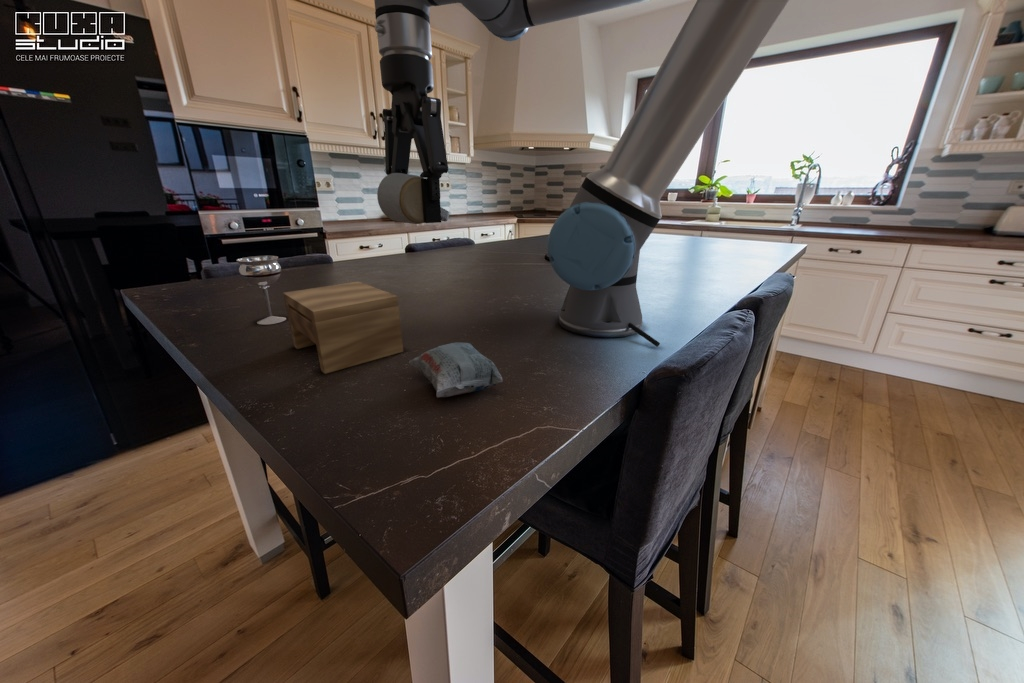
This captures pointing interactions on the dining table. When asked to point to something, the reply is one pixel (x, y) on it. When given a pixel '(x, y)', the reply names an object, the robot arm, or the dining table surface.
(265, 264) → the wineglass
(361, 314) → the oak stool
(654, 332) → the dining table surface
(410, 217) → the ceramic mug
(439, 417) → the dining table surface
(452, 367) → the packaged food
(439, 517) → the dining table surface
